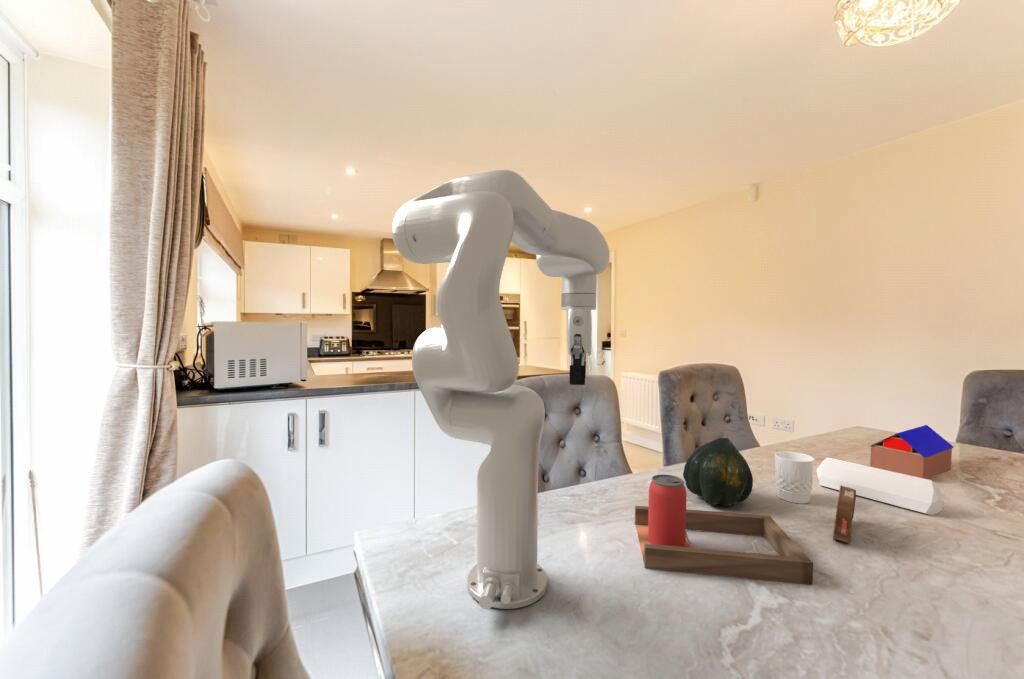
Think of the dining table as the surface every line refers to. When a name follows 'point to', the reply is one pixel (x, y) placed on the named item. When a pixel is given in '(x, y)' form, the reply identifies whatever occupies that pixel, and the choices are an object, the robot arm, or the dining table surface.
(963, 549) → the dining table surface
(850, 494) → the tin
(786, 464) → the white cup
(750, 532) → the frame
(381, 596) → the dining table surface
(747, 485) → the squash
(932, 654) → the dining table surface
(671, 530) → the beer can
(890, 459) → the house
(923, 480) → the crystal
